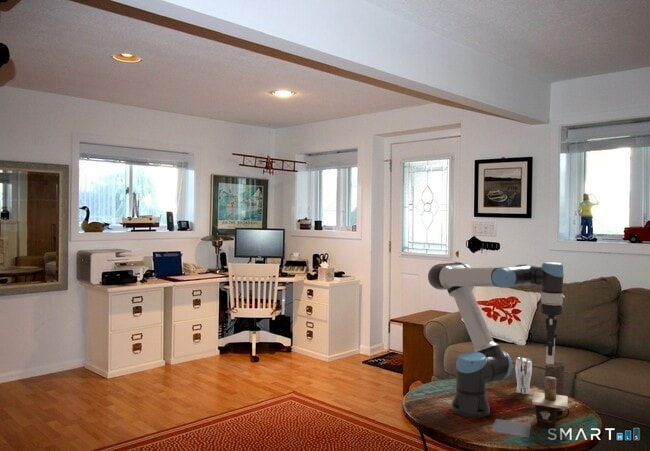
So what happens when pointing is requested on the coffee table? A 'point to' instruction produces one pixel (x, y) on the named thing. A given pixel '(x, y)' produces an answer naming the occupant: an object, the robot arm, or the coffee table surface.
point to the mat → (512, 428)
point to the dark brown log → (556, 376)
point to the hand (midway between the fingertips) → (550, 358)
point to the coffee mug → (547, 416)
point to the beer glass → (523, 375)
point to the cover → (550, 396)
